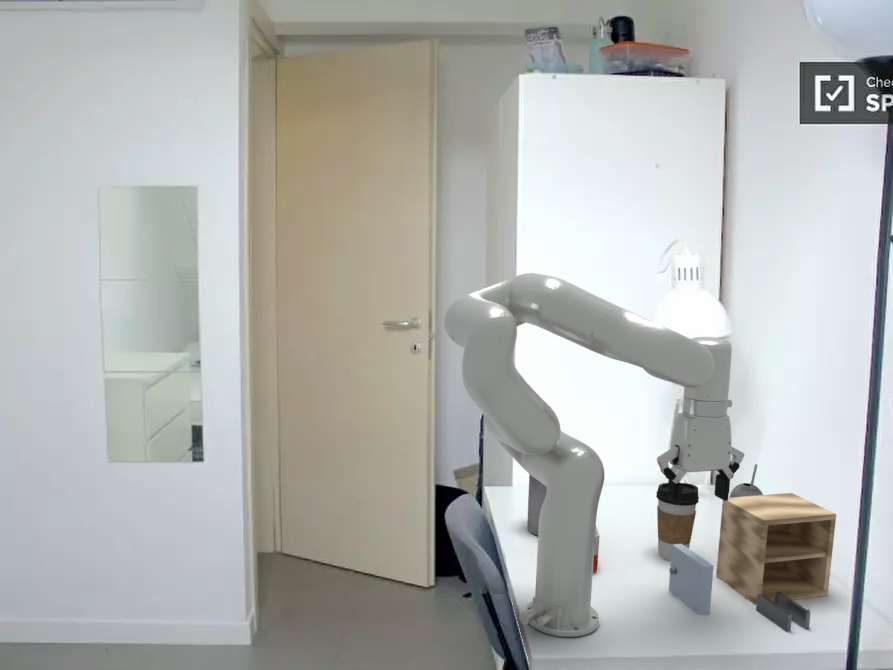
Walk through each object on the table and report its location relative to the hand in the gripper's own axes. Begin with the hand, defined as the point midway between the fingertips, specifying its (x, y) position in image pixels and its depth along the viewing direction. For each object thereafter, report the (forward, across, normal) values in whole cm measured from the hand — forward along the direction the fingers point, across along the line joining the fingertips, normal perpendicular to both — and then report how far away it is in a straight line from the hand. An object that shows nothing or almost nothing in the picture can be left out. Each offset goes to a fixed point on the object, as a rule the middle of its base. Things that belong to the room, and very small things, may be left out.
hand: (698, 500), depth 147 cm
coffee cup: (+20, -8, -19) cm, 28 cm away
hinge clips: (+19, -12, +10) cm, 25 cm away
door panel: (+19, 0, 0) cm, 19 cm away
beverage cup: (+20, -23, -16) cm, 34 cm away
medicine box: (+20, +12, -23) cm, 33 cm away
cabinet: (+19, -19, -2) cm, 27 cm away
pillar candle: (+19, +12, -37) cm, 44 cm away
